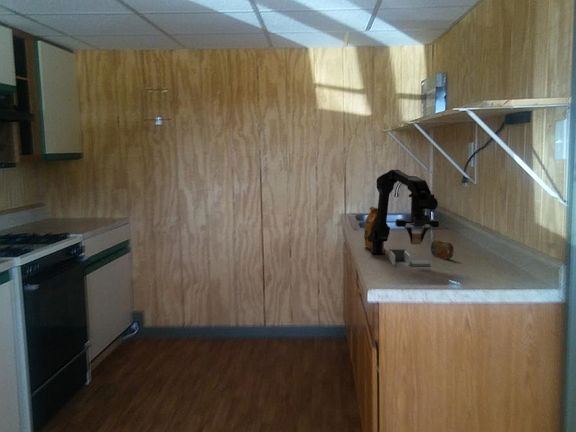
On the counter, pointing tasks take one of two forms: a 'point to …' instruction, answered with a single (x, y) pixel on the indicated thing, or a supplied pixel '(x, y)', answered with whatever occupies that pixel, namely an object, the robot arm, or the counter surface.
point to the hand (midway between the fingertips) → (416, 241)
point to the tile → (419, 263)
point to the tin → (442, 249)
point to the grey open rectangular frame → (399, 255)
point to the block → (416, 238)
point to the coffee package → (370, 226)
